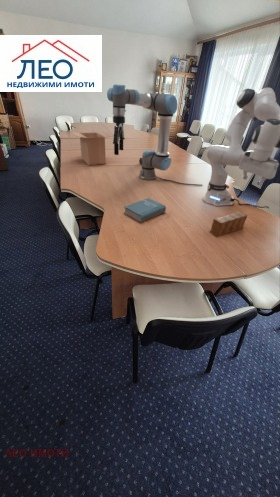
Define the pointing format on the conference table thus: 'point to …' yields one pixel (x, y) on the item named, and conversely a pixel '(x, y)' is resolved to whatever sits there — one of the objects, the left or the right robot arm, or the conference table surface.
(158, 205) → the book
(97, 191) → the conference table surface
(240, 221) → the bar
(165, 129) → the left robot arm
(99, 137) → the box
